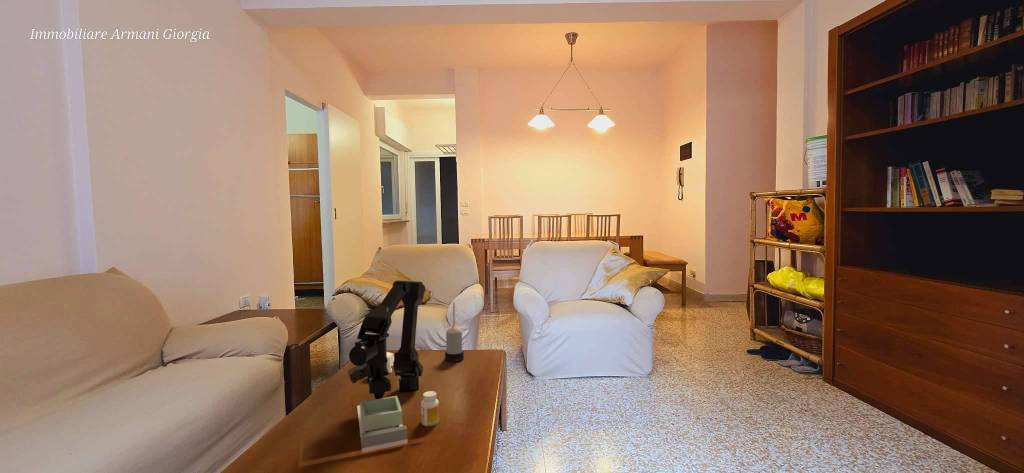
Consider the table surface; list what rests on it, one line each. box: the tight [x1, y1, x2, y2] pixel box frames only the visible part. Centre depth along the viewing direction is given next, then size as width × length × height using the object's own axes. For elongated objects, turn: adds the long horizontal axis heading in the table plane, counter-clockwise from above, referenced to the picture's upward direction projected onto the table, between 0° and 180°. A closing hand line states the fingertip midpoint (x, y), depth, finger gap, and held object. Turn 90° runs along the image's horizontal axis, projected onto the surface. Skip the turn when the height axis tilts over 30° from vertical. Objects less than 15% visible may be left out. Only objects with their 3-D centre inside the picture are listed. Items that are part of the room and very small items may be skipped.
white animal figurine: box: [387, 351, 395, 374], centre depth 176 cm, size 9×8×15 cm
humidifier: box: [444, 302, 465, 363], centre depth 189 cm, size 8×8×25 cm
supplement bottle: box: [420, 390, 440, 427], centre depth 132 cm, size 5×5×10 cm
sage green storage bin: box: [359, 395, 403, 433], centre depth 130 cm, size 11×11×6 cm
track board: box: [356, 404, 408, 454], centre depth 132 cm, size 12×28×4 cm, turn 22°
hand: (378, 403), depth 136 cm, fingers closed
